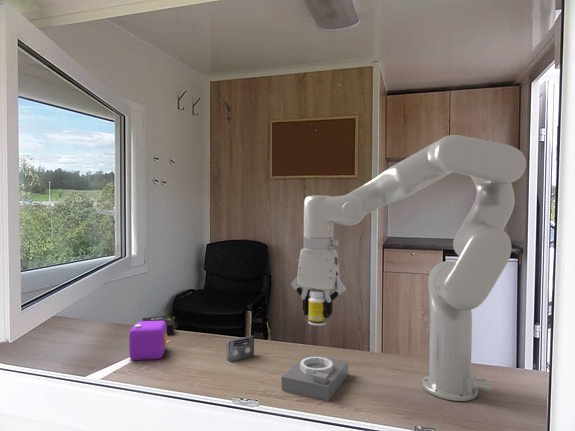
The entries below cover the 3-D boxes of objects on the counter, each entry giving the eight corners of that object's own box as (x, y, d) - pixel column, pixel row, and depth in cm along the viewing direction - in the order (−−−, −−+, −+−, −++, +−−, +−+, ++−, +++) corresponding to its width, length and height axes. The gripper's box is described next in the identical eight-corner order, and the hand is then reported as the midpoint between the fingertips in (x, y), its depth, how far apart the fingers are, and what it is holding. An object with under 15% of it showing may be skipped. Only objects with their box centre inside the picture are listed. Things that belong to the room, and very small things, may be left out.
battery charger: (142, 328, 143) (142, 317, 143) (169, 325, 147) (169, 315, 147) (144, 339, 131) (144, 328, 131) (173, 336, 135) (173, 324, 135)
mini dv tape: (251, 354, 118) (251, 335, 118) (253, 356, 117) (254, 336, 117) (226, 360, 113) (226, 340, 113) (228, 362, 112) (228, 341, 112)
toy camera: (167, 343, 127) (167, 313, 126) (168, 359, 114) (168, 325, 113) (131, 347, 123) (131, 316, 123) (128, 364, 110) (128, 329, 110)
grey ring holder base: (348, 374, 104) (348, 356, 104) (328, 401, 90) (328, 380, 90) (306, 366, 109) (306, 348, 109) (281, 390, 95) (281, 370, 95)
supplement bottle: (325, 326, 96) (326, 292, 96) (306, 325, 97) (307, 291, 97) (327, 321, 101) (327, 288, 101) (309, 319, 102) (309, 288, 102)
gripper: (355, 244, 98) (353, 316, 99) (293, 241, 105) (293, 307, 106) (346, 247, 91) (345, 324, 92) (281, 243, 99) (281, 314, 99)
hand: (317, 314), depth 99 cm, fingers closed on supplement bottle, 4 cm apart
